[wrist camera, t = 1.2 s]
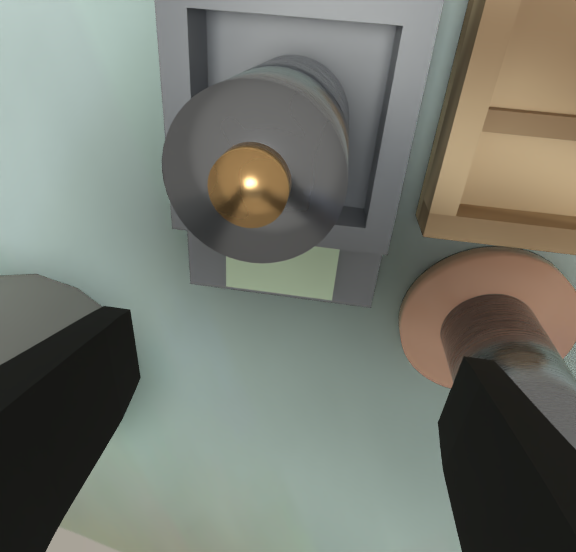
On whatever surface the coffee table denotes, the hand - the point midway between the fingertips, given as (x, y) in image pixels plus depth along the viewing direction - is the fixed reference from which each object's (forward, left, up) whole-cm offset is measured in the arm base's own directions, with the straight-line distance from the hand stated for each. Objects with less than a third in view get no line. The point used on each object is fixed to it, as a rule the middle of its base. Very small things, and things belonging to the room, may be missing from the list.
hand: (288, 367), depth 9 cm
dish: (-3, -7, -7) cm, 11 cm away
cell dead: (-3, -7, -7) cm, 10 cm away
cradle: (+3, +1, -7) cm, 8 cm away
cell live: (+4, +1, -6) cm, 8 cm away
